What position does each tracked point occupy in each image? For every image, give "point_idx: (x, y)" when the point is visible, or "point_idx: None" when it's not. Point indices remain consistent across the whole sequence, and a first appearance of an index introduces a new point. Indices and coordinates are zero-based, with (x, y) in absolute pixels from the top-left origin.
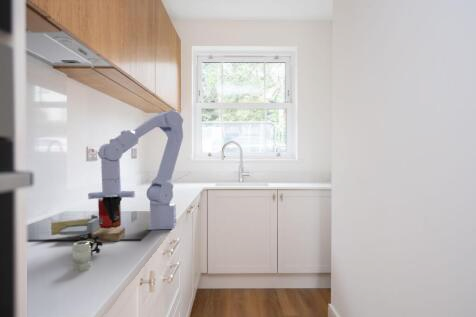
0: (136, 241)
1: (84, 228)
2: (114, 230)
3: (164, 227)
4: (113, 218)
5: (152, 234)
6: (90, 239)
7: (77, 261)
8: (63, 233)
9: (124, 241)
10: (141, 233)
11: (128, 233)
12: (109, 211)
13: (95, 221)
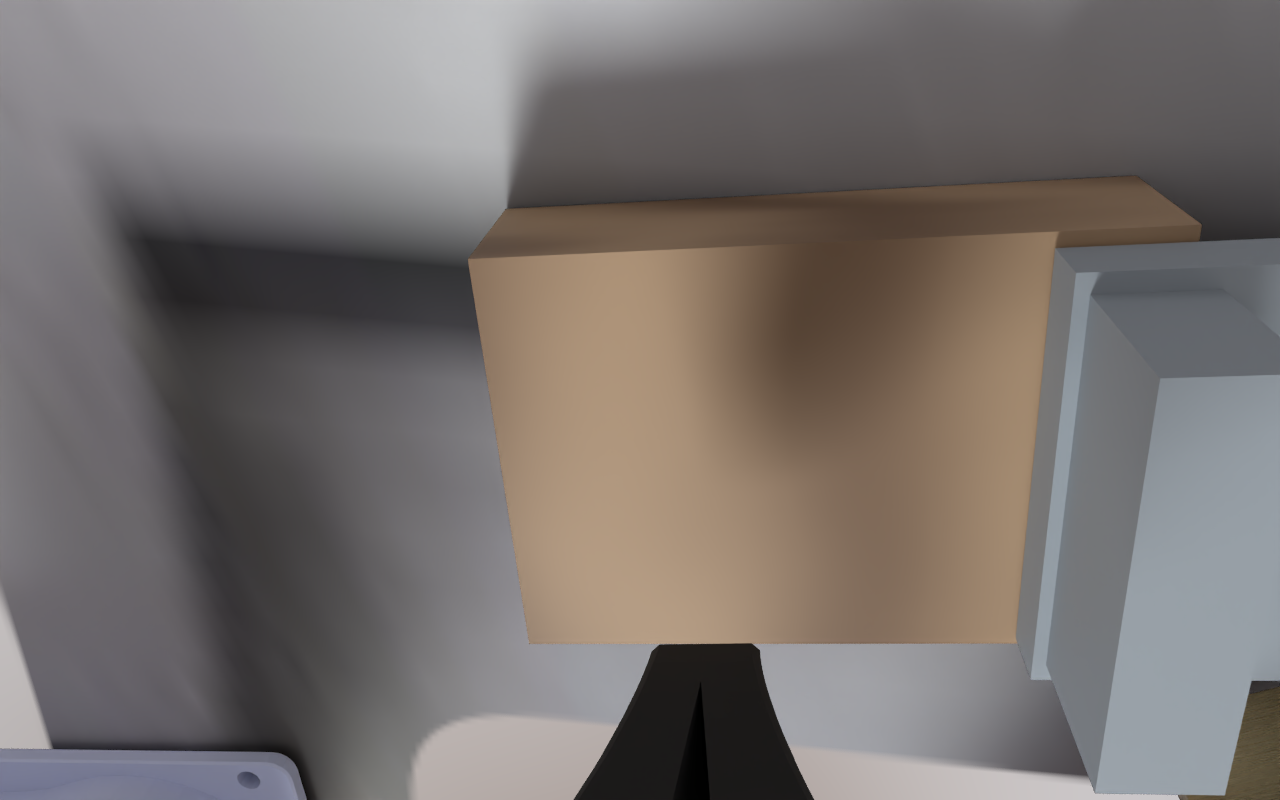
0: (165, 167)
1: None
2: (648, 466)
3: (47, 787)
4: (655, 662)
5: (103, 538)
6: (1067, 193)
7: None
8: None
9: (391, 186)
10: (314, 609)
11: None
12: (740, 794)
13: (1114, 584)
